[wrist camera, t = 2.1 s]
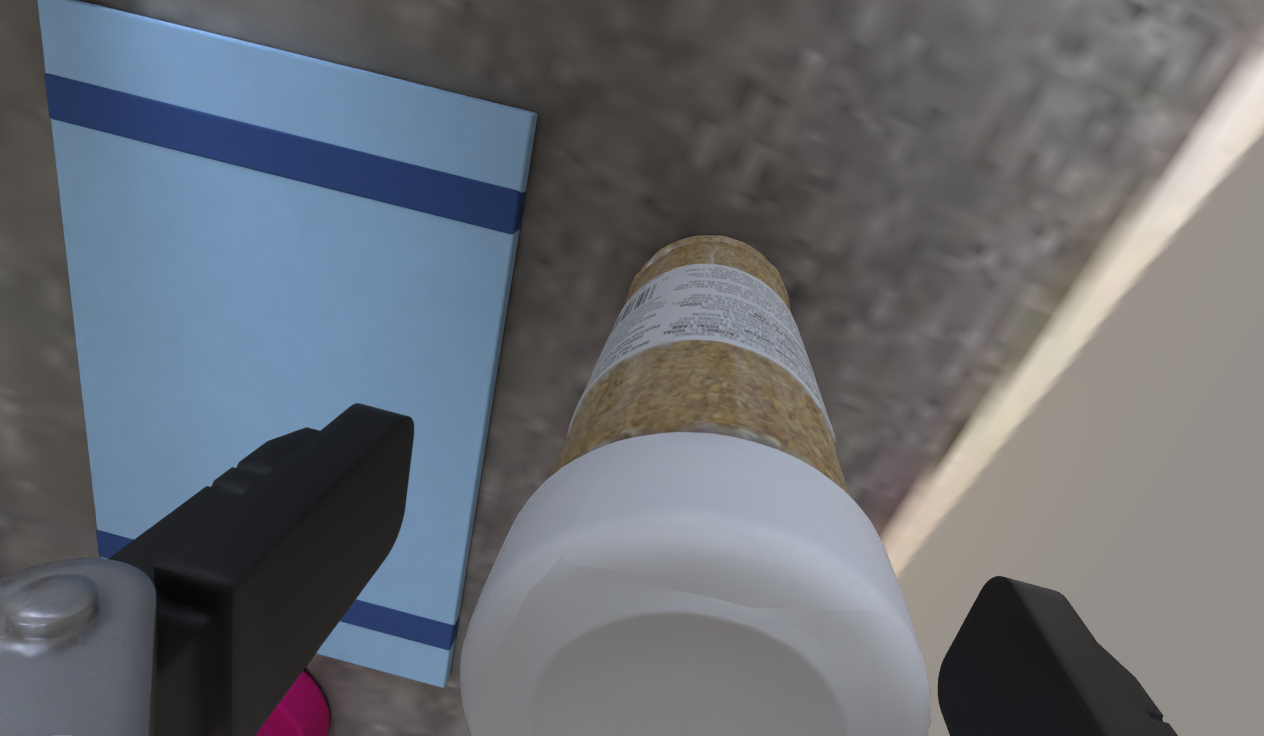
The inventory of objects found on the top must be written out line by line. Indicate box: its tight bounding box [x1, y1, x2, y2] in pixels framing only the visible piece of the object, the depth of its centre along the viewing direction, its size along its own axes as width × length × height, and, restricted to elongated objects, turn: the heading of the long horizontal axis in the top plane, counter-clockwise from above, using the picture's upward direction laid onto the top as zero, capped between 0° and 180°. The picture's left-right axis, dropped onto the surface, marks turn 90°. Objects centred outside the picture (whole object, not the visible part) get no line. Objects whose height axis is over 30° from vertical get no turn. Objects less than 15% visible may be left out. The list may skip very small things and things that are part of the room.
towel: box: [38, 0, 537, 688], centre depth 21 cm, size 20×13×1 cm, turn 167°
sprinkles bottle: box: [460, 235, 931, 736], centre depth 12 cm, size 5×5×13 cm
